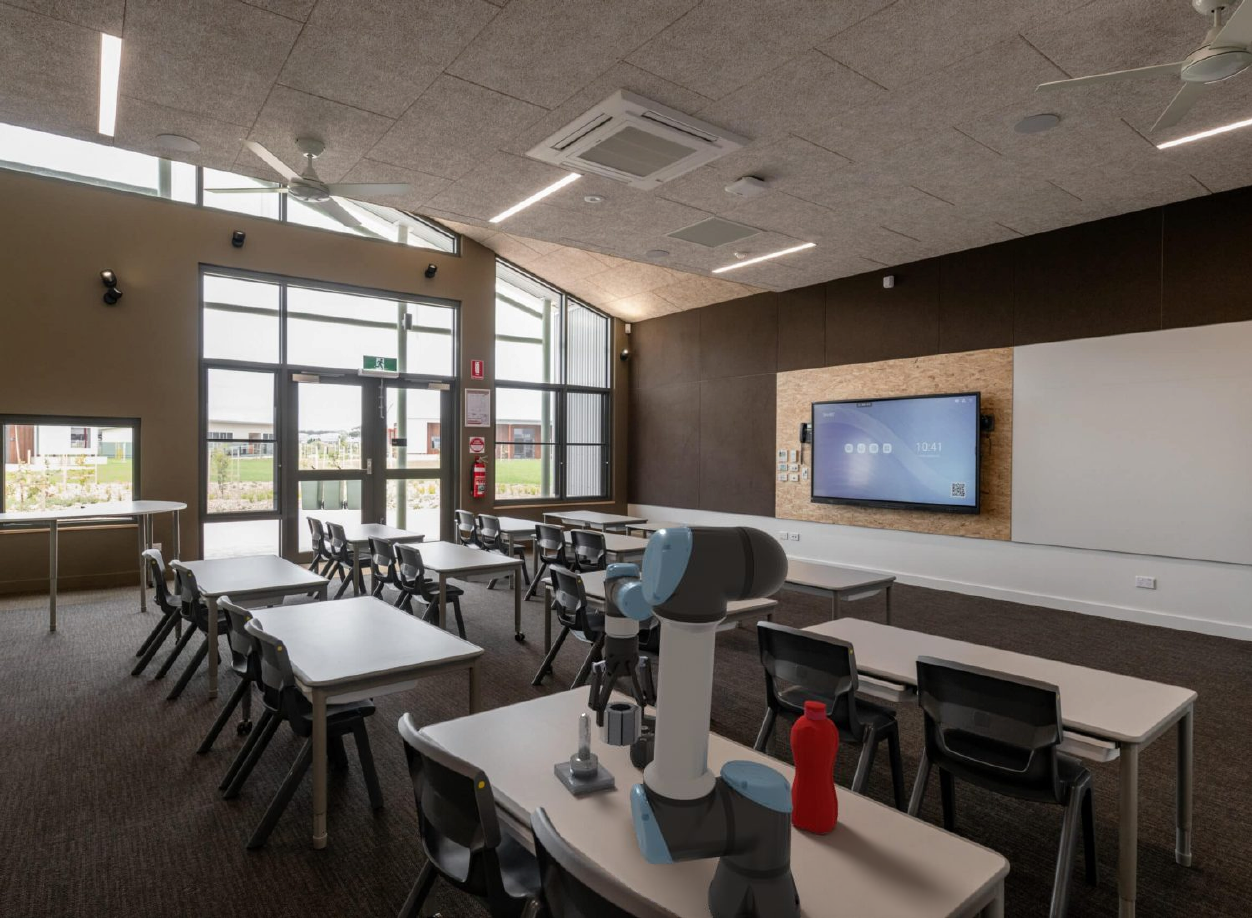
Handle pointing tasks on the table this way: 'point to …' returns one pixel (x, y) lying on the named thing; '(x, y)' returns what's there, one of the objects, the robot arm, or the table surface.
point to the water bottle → (814, 770)
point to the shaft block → (584, 765)
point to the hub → (622, 723)
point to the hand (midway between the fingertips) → (620, 737)
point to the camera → (644, 743)
